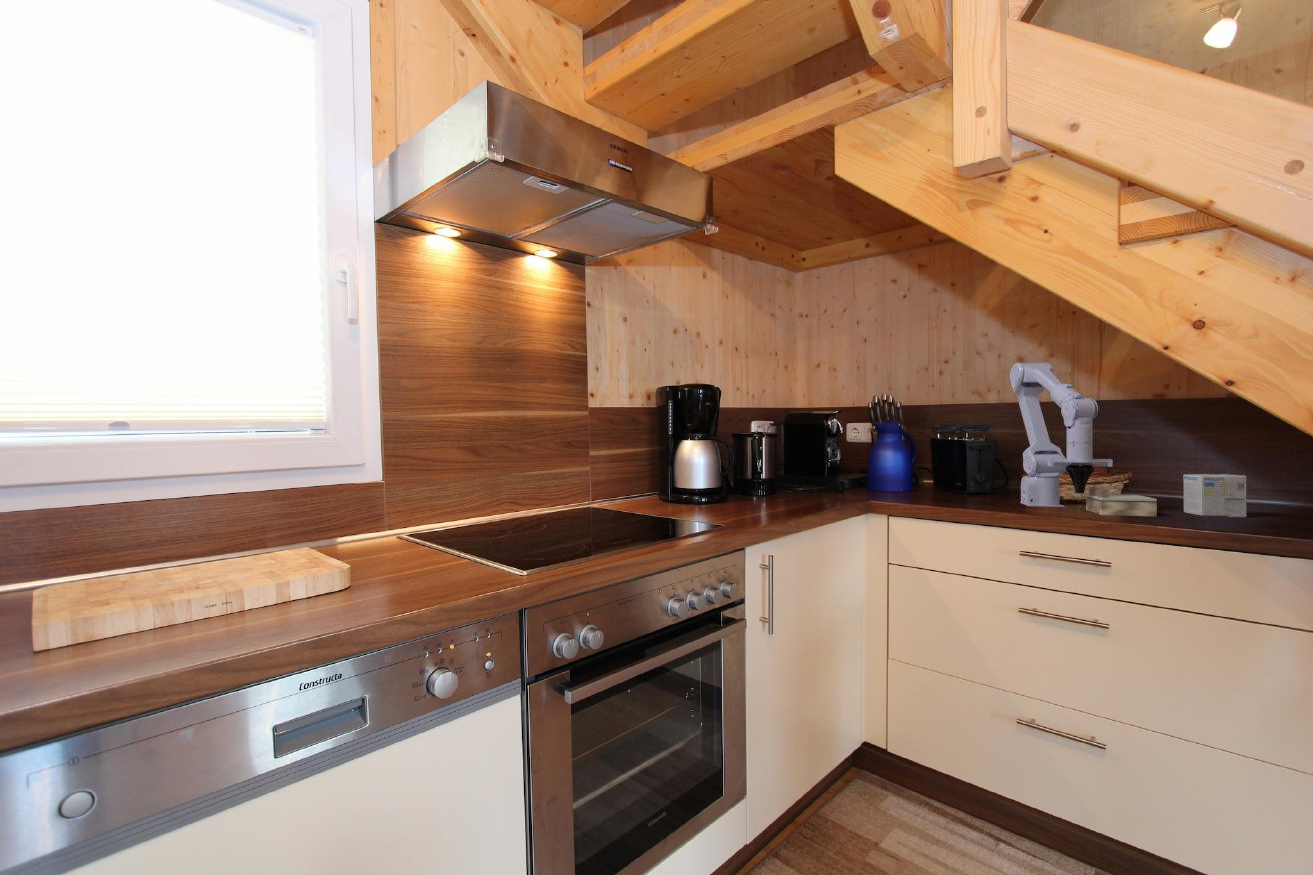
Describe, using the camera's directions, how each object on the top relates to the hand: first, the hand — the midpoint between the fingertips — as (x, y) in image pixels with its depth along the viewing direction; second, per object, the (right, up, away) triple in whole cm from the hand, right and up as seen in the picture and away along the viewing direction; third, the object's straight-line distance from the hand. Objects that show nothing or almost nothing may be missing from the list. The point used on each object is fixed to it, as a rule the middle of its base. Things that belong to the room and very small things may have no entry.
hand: (1079, 493), depth 160 cm
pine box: (+9, -6, -3) cm, 11 cm away
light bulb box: (+31, -6, -6) cm, 32 cm away
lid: (+9, -1, -3) cm, 9 cm away
